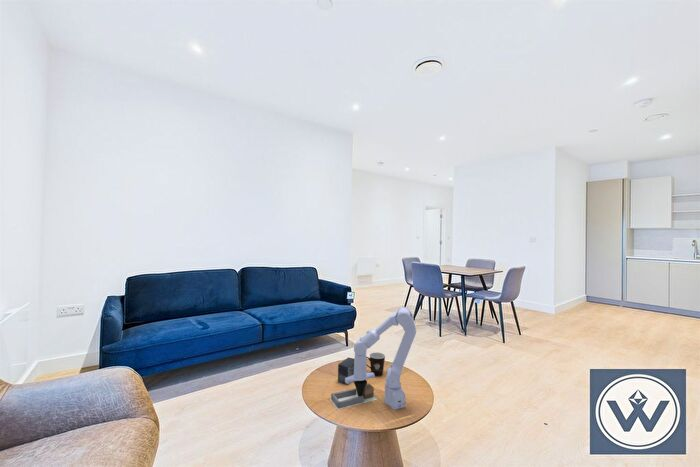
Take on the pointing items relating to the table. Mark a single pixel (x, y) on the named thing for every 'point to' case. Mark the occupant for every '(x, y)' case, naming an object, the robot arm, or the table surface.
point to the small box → (345, 370)
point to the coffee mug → (376, 363)
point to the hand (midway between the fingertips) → (359, 395)
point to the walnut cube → (368, 391)
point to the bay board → (348, 399)
